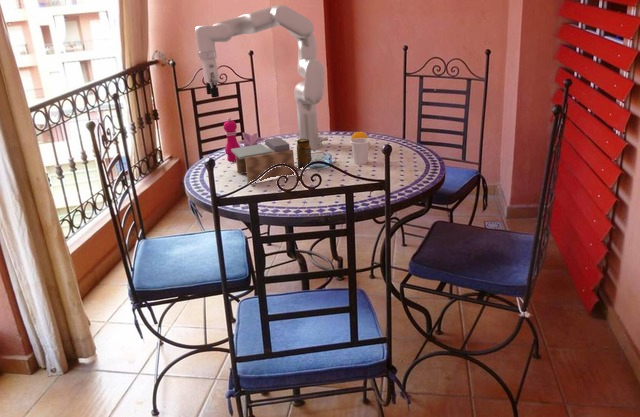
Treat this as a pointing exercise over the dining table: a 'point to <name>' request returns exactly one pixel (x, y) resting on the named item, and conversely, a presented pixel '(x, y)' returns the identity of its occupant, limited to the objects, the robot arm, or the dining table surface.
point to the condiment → (303, 153)
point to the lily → (250, 139)
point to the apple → (359, 135)
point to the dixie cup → (360, 150)
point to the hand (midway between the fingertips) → (213, 95)
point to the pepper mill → (231, 139)
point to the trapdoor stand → (266, 165)
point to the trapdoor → (262, 148)
